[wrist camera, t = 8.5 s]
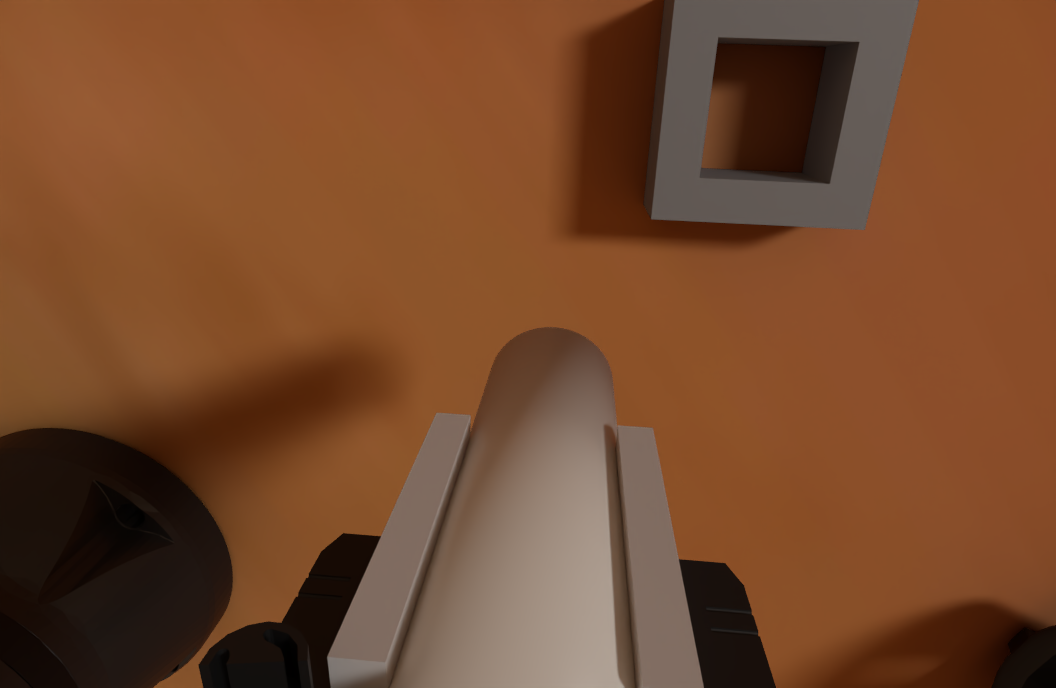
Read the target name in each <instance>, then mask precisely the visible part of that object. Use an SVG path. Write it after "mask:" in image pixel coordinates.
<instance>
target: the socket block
mask: <svg viewBox="0 0 1056 688" xmlns="http://www.w3.org/2000/svg"><path fill="white" fill-rule="evenodd" d="M918 2H919V0H664V9H663V19H662V28H661V38H660V48H659V58H658V67H657V77H656V87H655V97H654V107H653V116H652V126H651V136H650V146H649V156H648V165H647V175H646V185H645V195H644V204H643V205H644V206H645V208H646V210H647V212H648V214H649V216H650V218H651V219H655V220H676V221H696V222H716V223H737V224H757V225H777V226H798V227H818V228H838V229H859V230H865V226H866V222H867V218H868V214H869V210H870V205H871V201H872V197H873V193H874V188H875V184H876V180H877V176H878V171H879V167H880V163H881V159H882V154H883V150H884V146H885V142H886V137H887V133H888V129H889V125H890V121H891V116H892V112H893V108H894V104H895V99H896V95H897V91H898V87H899V82H900V78H901V74H902V70H903V65H904V61H905V57H906V53H907V48H908V44H909V40H910V36H911V31H912V27H913V23H914V19H915V15H916V10H917V6H918ZM717 43H727V44H757V45H787V46H817V47H826V50H825V55H824V60H823V65H822V70H821V76H820V81H819V86H818V91H817V97H816V102H815V107H814V112H813V117H812V123H811V128H810V133H809V138H808V143H807V149H806V154H805V159H804V164H803V170H802V173H798V172H776V171H753V170H731V169H708V168H701V163H702V156H703V148H704V141H705V133H706V126H707V118H708V111H709V103H710V96H711V88H712V81H713V73H714V65H715V58H716V50H717Z"/></svg>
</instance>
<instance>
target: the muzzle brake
mask: <svg viewBox="0 0 1056 688" xmlns="http://www.w3.org/2000/svg"><path fill="white" fill-rule="evenodd" d="M1008 646H1009V649H1010V653H1011V654H1009V655H1008V656H1007V657H1006V659H1005V660H1004V662H1003V664H1002V665H1001V667H1000V669H999V670H998V672H997V674H996V677H995V680H994V682H993V685H992V688H1056V625H1055V626H1050V627H1048V628H1045V629H1043V630H1041V631H1038V632H1034V631H1032V630H1030V629H1028V628H1024V629H1023V630H1022V631H1021V632H1020V633H1019V634H1017V635H1016V636H1015V637H1014V638H1013V639H1012V640H1011V641H1010V642H1008Z"/></svg>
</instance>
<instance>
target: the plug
mask: <svg viewBox="0 0 1056 688" xmlns="http://www.w3.org/2000/svg"><path fill="white" fill-rule="evenodd" d="M616 439H617V420H616V409H615V398H614V388H613V378H612V372H611V369H610V366H609V364H608V361H607V359H606V358H605V356H604V354H603V353H602V352H601V351H600V349H599V348H598V347H597V346H596V345H595V344H594V343H593V342H591V341H590V340H589V339H587V338H586V337H584V336H582V335H580V334H578V333H576V332H573V331H571V330H567V329H563V328H556V327H544V328H537V329H533V330H529V331H526V332H524V333H522V334H520V335H518V336H516V337H514V338H513V339H512V340H510V341H509V342H508V343H507V344H506V345H505V346H504V347H503V348H502V349H501V350H500V352H499V353H498V355H497V357H496V358H495V360H494V363H493V365H492V368H491V371H490V374H489V377H488V380H487V383H486V386H485V389H484V393H483V396H482V399H481V402H480V405H479V408H478V411H477V414H476V417H475V420H474V423H473V426H472V429H471V432H470V440H469V443H468V446H467V449H466V452H465V456H464V459H463V462H462V465H461V468H460V471H459V474H458V477H457V480H456V483H455V487H454V490H453V493H452V496H451V499H450V502H449V505H448V508H447V511H446V514H445V517H444V521H443V524H442V527H441V530H440V533H439V536H438V539H437V542H436V545H435V548H434V552H433V555H432V558H431V561H430V564H429V567H428V570H427V573H426V576H425V579H424V582H423V586H422V589H421V592H420V595H419V598H418V601H417V604H416V607H415V610H414V613H413V617H412V620H411V623H410V626H409V629H408V632H407V635H406V638H405V641H404V644H403V648H402V651H401V654H400V657H399V660H398V663H397V666H396V669H395V672H394V675H393V678H392V682H391V685H390V688H636V684H635V672H634V660H633V648H632V637H631V625H630V613H629V601H628V589H627V577H626V565H625V553H624V542H623V530H622V518H621V506H620V494H619V482H618V470H617V458H616Z"/></svg>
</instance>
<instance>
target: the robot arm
mask: <svg viewBox="0 0 1056 688" xmlns="http://www.w3.org/2000/svg"><path fill="white" fill-rule="evenodd" d="M469 440H470V415H462V414H447V413H436V415H435V418H434V420H433V422H432V424H431V426H430V429H429V431H428V433H427V435H426V438H425V440H424V442H423V444H422V447H421V449H420V451H419V453H418V455H417V458H416V460H415V462H414V464H413V467H412V469H411V471H410V473H409V476H408V478H407V480H406V482H405V484H404V487H403V489H402V491H401V493H400V496H399V498H398V500H397V502H396V505H395V507H394V509H393V511H392V513H391V516H390V518H389V520H388V522H387V525H386V527H385V529H384V531H383V534H382V536H369V535H357V534H345V533H343V534H342V535H341V536H339V537H338V538H337V539H336V540H335V541H333V542H332V543H331V544H330V545H329V546H327V547H326V548H325V549H324V550H323V551H321V553H320V555H319V557H318V559H317V560H316V562H315V564H314V566H313V567H312V569H311V571H310V573H309V577H308V578H306V580H305V582H304V583H303V585H302V587H301V589H300V591H299V594H298V597H296V598H295V599H294V601H293V603H292V605H291V607H290V608H289V610H288V612H287V614H286V616H285V617H284V619H283V621H282V623H276V622H264V623H258V624H252V625H248V626H245V627H243V628H241V629H239V630H237V631H234V632H232V633H230V634H228V635H226V636H225V637H224V638H223V639H221V640H220V641H219V642H218V643H216V644H215V645H214V646H213V647H211V648H210V649H209V651H208V652H207V654H206V655H205V657H204V658H203V659H202V661H201V662H200V664H199V670H200V674H201V679H202V683H203V688H390V685H391V682H392V678H393V675H394V672H395V669H396V666H397V663H398V660H399V657H400V654H401V651H402V648H403V644H404V641H405V638H406V635H407V632H408V629H409V626H410V623H411V620H412V617H413V613H414V610H415V607H416V604H417V601H418V598H419V595H420V592H421V589H422V586H423V582H424V579H425V576H426V573H427V570H428V567H429V564H430V561H431V558H432V555H433V552H434V548H435V545H436V542H437V539H438V536H439V533H440V530H441V527H442V524H443V521H444V517H445V514H446V511H447V508H448V505H449V502H450V499H451V496H452V493H453V490H454V487H455V483H456V480H457V477H458V474H459V471H460V468H461V465H462V462H463V459H464V456H465V452H466V449H467V446H468V443H469ZM616 458H617V470H618V482H619V494H620V506H621V518H622V530H623V542H624V553H625V565H626V577H627V589H628V601H629V613H630V625H631V637H632V648H633V660H634V672H635V684H636V688H776V686H775V683H774V680H773V677H772V673H771V670H770V667H769V664H768V661H767V658H766V654H765V651H764V648H763V645H762V642H761V639H760V637H759V636H758V629H757V626H756V623H755V620H754V617H753V615H752V613H751V611H752V610H751V607H750V604H749V601H748V598H747V594H746V591H745V588H744V585H743V584H742V583H741V582H740V581H739V579H738V578H737V577H736V576H735V575H734V573H733V572H732V571H731V570H730V569H729V567H728V566H727V565H726V564H725V563H716V562H704V561H692V560H680V559H678V554H677V548H676V543H675V538H674V533H673V528H672V523H671V518H670V513H669V508H668V503H667V498H666V493H665V487H664V482H663V477H662V472H661V467H660V462H659V457H658V452H657V447H656V442H655V437H654V432H653V428H646V427H632V426H618V429H617V439H616ZM232 582H233V576H232V565H231V559H230V555H229V552H228V548H227V545H226V543H225V540H224V538H223V535H222V533H221V531H220V529H219V527H218V526H217V524H216V522H215V520H214V519H213V517H212V516H211V514H210V513H209V511H208V510H207V509H206V507H205V506H204V505H203V503H202V502H201V501H200V500H199V499H198V498H197V496H196V495H195V494H194V493H193V492H192V491H191V490H190V489H189V488H188V487H187V486H186V485H185V484H184V483H183V482H182V481H180V480H179V479H178V478H177V477H176V476H175V475H173V474H172V473H171V472H170V471H168V470H167V469H165V468H164V467H163V466H161V465H160V464H158V463H157V462H155V461H154V460H152V459H151V458H149V457H147V456H145V455H144V454H142V453H140V452H138V451H136V450H134V449H132V448H130V447H128V446H126V445H124V444H121V443H119V442H116V441H114V440H111V439H108V438H105V437H102V436H98V435H95V434H91V433H87V432H82V431H76V430H69V429H57V428H43V429H31V430H25V431H20V432H16V433H13V434H10V435H7V436H4V437H2V438H0V688H153V687H154V686H155V685H157V684H158V683H159V682H160V681H162V680H164V679H166V678H168V677H170V676H171V675H172V674H174V673H175V672H177V671H178V670H179V669H181V668H182V667H183V666H184V665H186V664H187V663H188V662H189V661H190V660H191V659H192V658H193V657H194V656H195V655H196V654H197V652H198V651H199V650H200V649H201V647H202V646H203V645H204V643H205V642H206V640H207V639H208V637H209V636H210V634H211V633H212V631H213V630H214V628H215V627H216V625H217V624H218V622H219V621H220V619H221V618H222V616H223V615H224V613H225V611H226V609H227V606H228V603H229V600H230V597H231V592H232Z"/></svg>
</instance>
